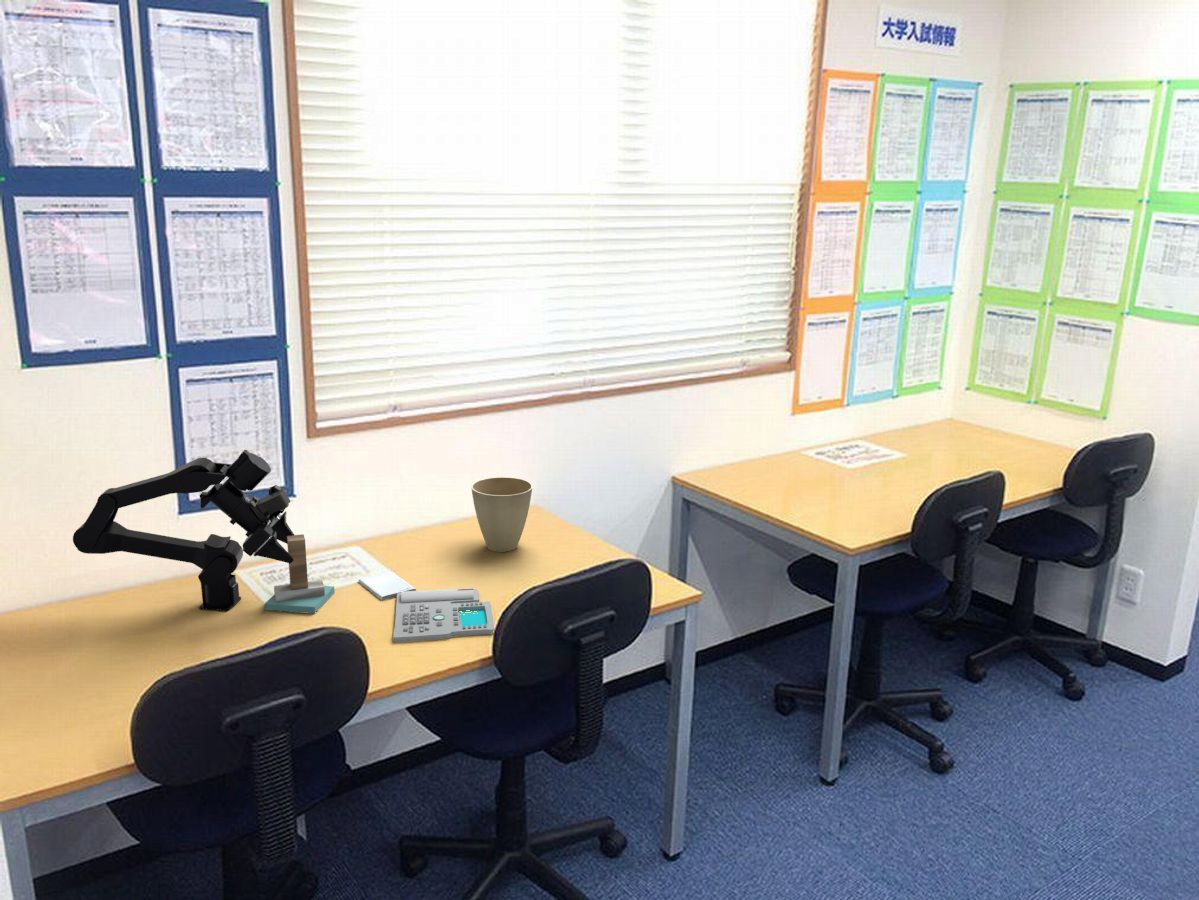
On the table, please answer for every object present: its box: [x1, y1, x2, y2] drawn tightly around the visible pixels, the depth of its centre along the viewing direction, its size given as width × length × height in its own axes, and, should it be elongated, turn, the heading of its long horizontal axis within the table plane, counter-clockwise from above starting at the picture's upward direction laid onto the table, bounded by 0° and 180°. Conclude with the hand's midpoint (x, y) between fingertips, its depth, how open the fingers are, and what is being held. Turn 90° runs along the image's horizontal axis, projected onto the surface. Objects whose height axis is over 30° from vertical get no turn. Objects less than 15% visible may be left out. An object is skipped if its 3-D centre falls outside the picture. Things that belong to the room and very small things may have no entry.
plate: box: [264, 585, 335, 614], centre depth 213 cm, size 11×11×2 cm
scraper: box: [273, 534, 325, 602], centre depth 211 cm, size 4×10×13 cm, turn 111°
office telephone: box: [392, 587, 495, 643], centre depth 208 cm, size 23×3×20 cm
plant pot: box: [470, 476, 533, 553], centre depth 245 cm, size 15×15×16 cm
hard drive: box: [358, 571, 417, 601], centre depth 222 cm, size 2×8×12 cm
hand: (295, 553), depth 211 cm, fingers open, 9 cm apart
